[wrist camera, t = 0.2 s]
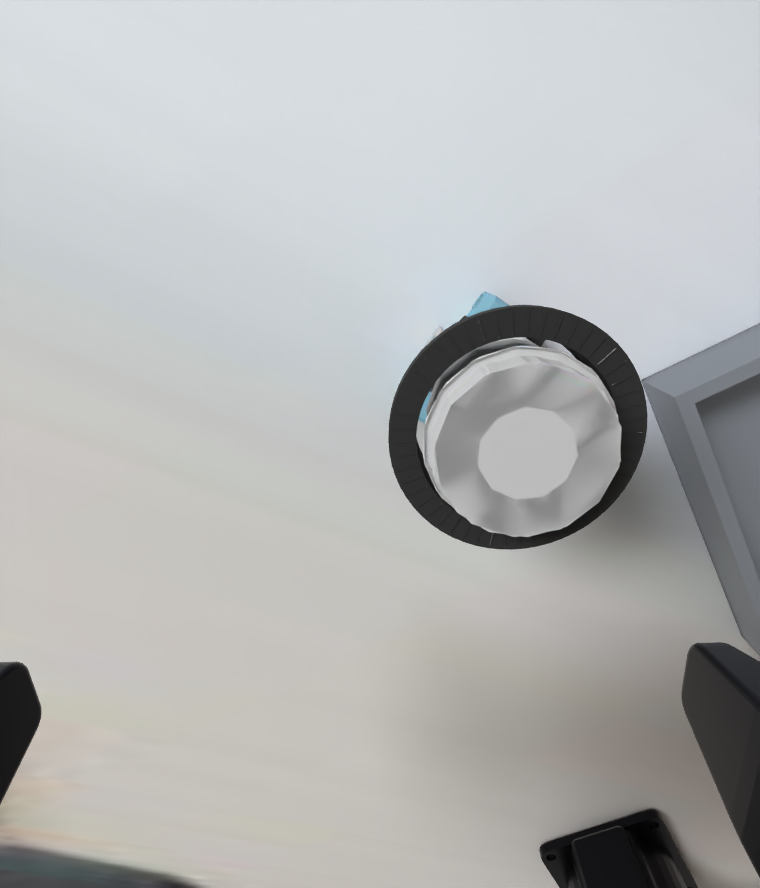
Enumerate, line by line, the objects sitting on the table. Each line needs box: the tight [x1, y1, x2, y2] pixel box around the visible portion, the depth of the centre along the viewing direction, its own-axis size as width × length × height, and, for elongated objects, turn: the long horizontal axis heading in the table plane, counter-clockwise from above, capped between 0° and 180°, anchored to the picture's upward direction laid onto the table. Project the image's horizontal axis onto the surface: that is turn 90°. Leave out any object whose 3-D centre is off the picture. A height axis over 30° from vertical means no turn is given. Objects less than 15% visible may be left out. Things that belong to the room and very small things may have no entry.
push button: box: [389, 292, 647, 549], centre depth 15 cm, size 7×5×10 cm
